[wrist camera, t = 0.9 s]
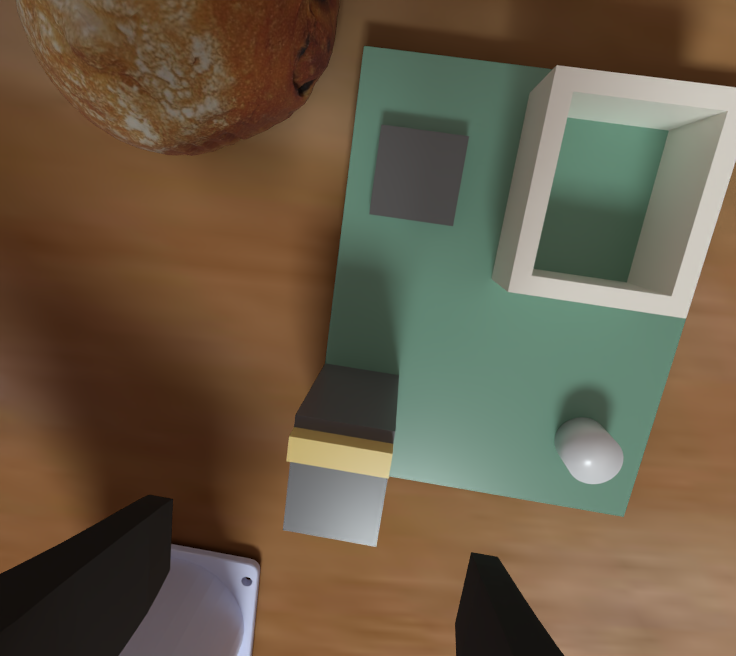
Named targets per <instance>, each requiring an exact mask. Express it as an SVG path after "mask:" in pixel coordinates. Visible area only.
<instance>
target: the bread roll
mask: <svg viewBox="0 0 736 656" xmlns="http://www.w3.org/2000/svg"><path fill="white" fill-rule="evenodd" d="M16 3H17V11H18V14H19V17H20V19H21V22H22V25H23V28H24V31H25V33H26V36H27V39H28V42H29V44H30V46H31V48H32V50H33V52H34V54H35V55H36V57H37V59H38V61H39V63H40V65H41V66H42V68H43V69H44V70H45V72H46V74H47V75H48V76H49V78H50V79H51V81H52V82H53V83H54V85H55V86H56V87H57V89H58V90H59V91H60V92H61V94H62V95H63V96H64V97H65V98H66V99H67V100H68V101H69V102H70V103H71V104H72V105H73V106H74V107H75V108H76V109H77V110H78V111H79V112H80V113H81V114H82V115H84V116H85V117H86V118H87V119H88V120H89V121H91V122H92V123H93V124H95V125H96V126H98V127H99V128H101V129H102V130H104V131H105V132H107V133H108V134H110V135H112V136H113V137H115V138H117V139H119V140H120V141H123V142H125V143H127V144H130V145H132V146H135V147H137V148H140V149H144V150H148V151H152V152H157V153H162V154H167V155H183V154H186V155H191V156H192V155H199V154H203V153H207V152H210V151H211V152H213V151H216V150H218V149H220V148H222V147H224V146H228V145H233V144H235V143H236V142H238V141H239V140H240V139H248V138H250V137H252V136H254V135H256V134H258V133H261V132H263V131H266V130H268V129H269V128H271V127H272V126H274V125H276V124H278V123H280V122H282V121H284V120H285V119H287V118H289V117H290V116H291V115H292V114H293V112H294V111H296V110H297V109H299V108H300V107H301V106H302V105H304V104H305V102H306V101H307V99H308V98H309V96H310V95H311V93H312V90H313V87H314V85H315V83H316V82H317V80H318V79H319V77H320V76H321V75H322V73H323V72H324V70H325V69H326V68H327V66H328V63H329V60H330V57H331V54H332V49H333V45H334V40H335V32H336V25H337V15H338V11H339V0H16Z"/></svg>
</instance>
